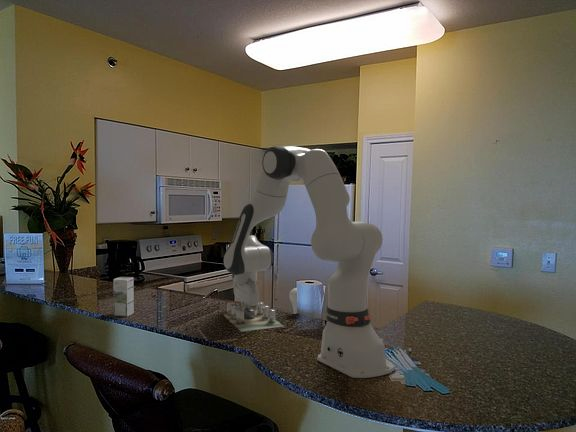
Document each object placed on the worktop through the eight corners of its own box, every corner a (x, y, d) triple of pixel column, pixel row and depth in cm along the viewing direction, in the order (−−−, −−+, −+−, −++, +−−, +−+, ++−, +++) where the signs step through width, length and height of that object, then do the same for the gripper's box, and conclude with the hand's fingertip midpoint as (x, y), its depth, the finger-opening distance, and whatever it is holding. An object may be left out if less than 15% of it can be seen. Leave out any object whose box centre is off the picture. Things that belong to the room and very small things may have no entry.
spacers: (276, 323, 149) (276, 310, 149) (240, 327, 143) (240, 314, 143) (259, 311, 165) (259, 299, 165) (226, 314, 159) (226, 303, 159)
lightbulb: (298, 318, 157) (298, 290, 157) (285, 316, 161) (286, 288, 161) (307, 315, 162) (307, 287, 162) (295, 312, 166) (295, 285, 165)
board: (284, 328, 145) (284, 326, 145) (241, 333, 139) (241, 331, 139) (260, 311, 167) (260, 309, 167) (222, 315, 160) (222, 313, 160)
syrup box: (134, 313, 163) (134, 276, 163) (127, 317, 157) (127, 279, 157) (120, 312, 164) (120, 276, 163) (112, 316, 158) (112, 279, 158)
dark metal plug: (256, 318, 154) (256, 310, 154) (245, 319, 153) (245, 311, 153) (252, 315, 158) (252, 307, 158) (241, 316, 157) (241, 308, 157)
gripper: (263, 280, 151) (262, 318, 151) (245, 272, 170) (245, 305, 170) (246, 281, 148) (246, 319, 149) (230, 273, 167) (230, 306, 167)
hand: (245, 312), depth 160 cm, fingers closed
